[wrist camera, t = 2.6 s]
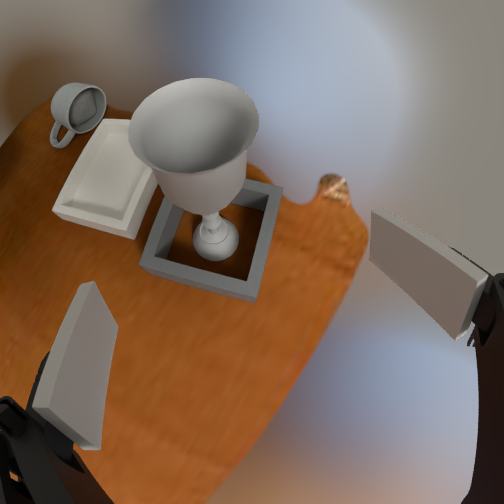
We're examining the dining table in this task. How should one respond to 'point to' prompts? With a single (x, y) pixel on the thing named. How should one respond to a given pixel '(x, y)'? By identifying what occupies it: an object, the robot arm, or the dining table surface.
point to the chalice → (198, 152)
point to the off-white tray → (108, 184)
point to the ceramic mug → (76, 110)
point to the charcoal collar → (158, 265)
